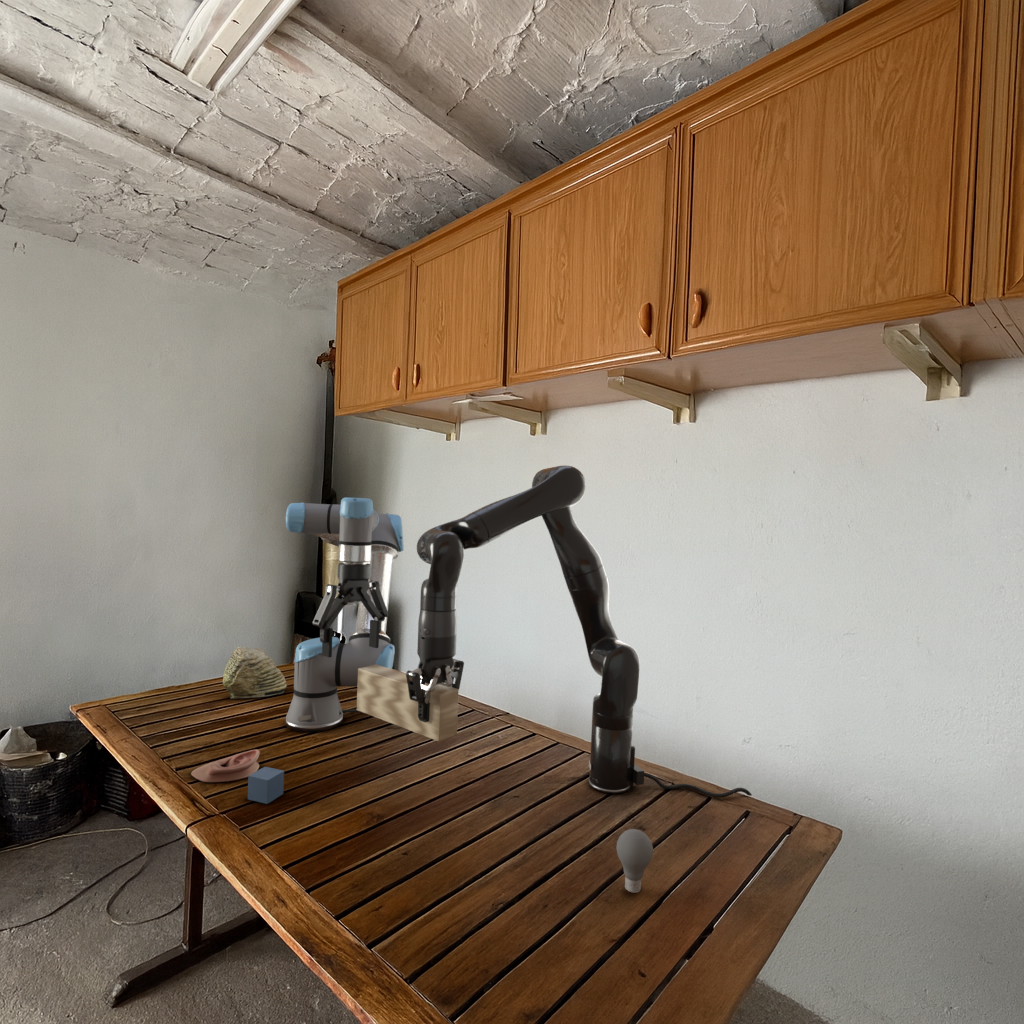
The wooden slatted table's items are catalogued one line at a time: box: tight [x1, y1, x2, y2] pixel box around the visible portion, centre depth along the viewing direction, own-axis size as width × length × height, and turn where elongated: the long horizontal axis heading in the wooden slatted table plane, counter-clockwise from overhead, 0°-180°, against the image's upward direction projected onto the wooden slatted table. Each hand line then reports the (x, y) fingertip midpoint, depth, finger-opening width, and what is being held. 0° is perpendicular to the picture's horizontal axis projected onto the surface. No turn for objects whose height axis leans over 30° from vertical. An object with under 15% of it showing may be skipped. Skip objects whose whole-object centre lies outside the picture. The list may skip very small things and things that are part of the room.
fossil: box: [222, 646, 288, 699], centre depth 198 cm, size 9×18×15 cm, turn 132°
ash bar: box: [356, 664, 460, 742], centre depth 130 cm, size 25×5×9 cm, turn 51°
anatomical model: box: [190, 748, 261, 783], centre depth 143 cm, size 13×4×12 cm
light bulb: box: [615, 828, 654, 894], centre depth 106 cm, size 6×6×10 cm
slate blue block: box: [247, 766, 285, 805], centre depth 133 cm, size 5×5×5 cm
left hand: (351, 651), depth 151 cm, fingers open, 13 cm apart
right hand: (434, 717), depth 125 cm, fingers closed on ash bar, 5 cm apart
